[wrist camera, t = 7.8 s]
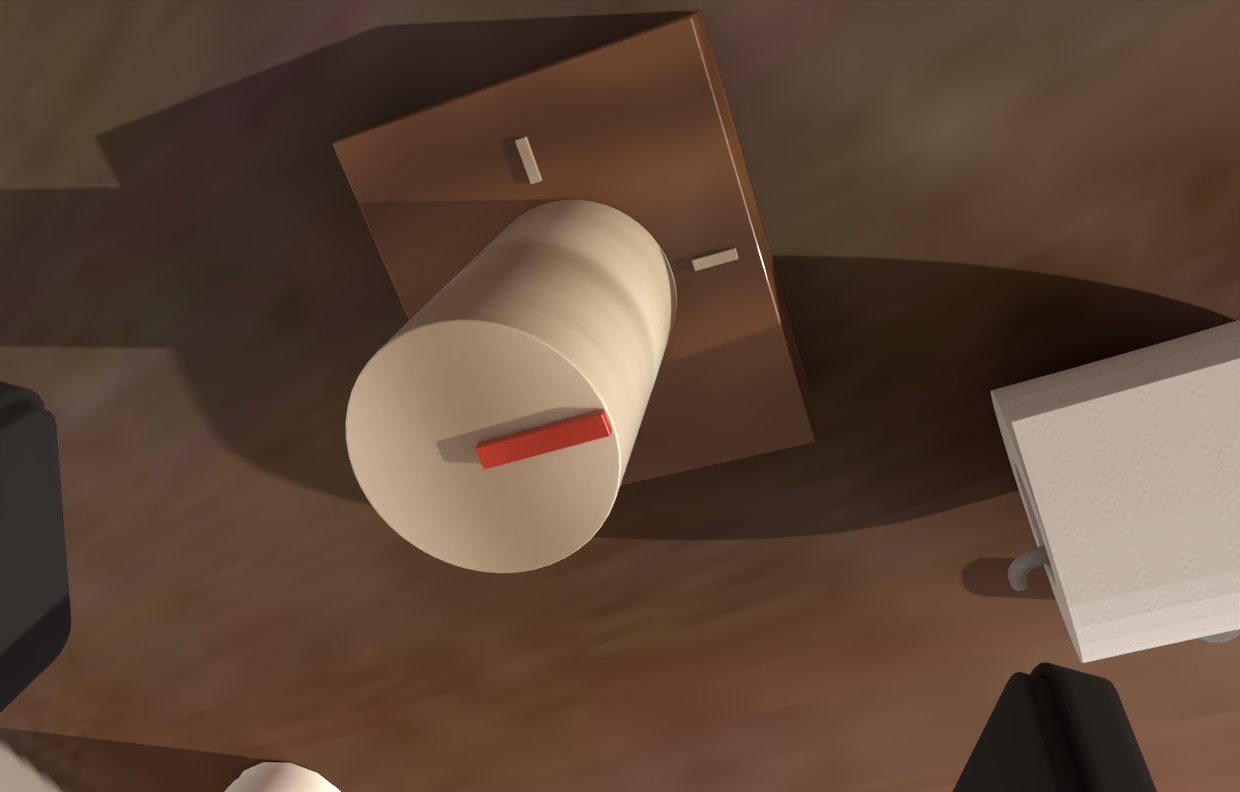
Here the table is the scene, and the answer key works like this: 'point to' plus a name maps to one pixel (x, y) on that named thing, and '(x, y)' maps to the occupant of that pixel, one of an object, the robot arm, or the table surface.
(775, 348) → the brown square plate
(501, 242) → the rotary dial knob
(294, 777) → the foam cup
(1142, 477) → the toilet paper holder
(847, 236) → the table surface
